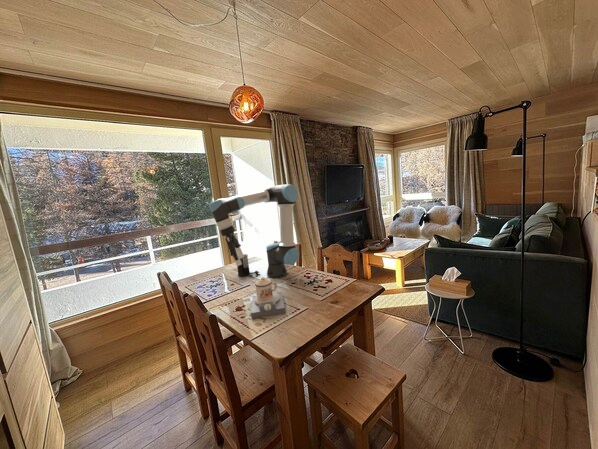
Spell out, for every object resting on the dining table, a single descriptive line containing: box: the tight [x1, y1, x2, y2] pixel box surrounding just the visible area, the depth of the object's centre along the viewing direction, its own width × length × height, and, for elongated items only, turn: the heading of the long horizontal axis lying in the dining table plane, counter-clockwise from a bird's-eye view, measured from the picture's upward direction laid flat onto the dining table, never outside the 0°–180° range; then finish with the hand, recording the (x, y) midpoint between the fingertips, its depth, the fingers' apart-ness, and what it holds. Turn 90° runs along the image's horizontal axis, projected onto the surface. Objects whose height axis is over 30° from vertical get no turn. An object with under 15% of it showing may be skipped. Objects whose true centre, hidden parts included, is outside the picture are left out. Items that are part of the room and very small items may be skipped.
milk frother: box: [236, 253, 260, 277], centre depth 191 cm, size 14×16×15 cm
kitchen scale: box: [250, 291, 286, 319], centre depth 137 cm, size 20×17×6 cm
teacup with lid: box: [254, 276, 278, 301], centre depth 139 cm, size 12×9×12 cm
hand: (240, 261), depth 145 cm, fingers open, 13 cm apart
